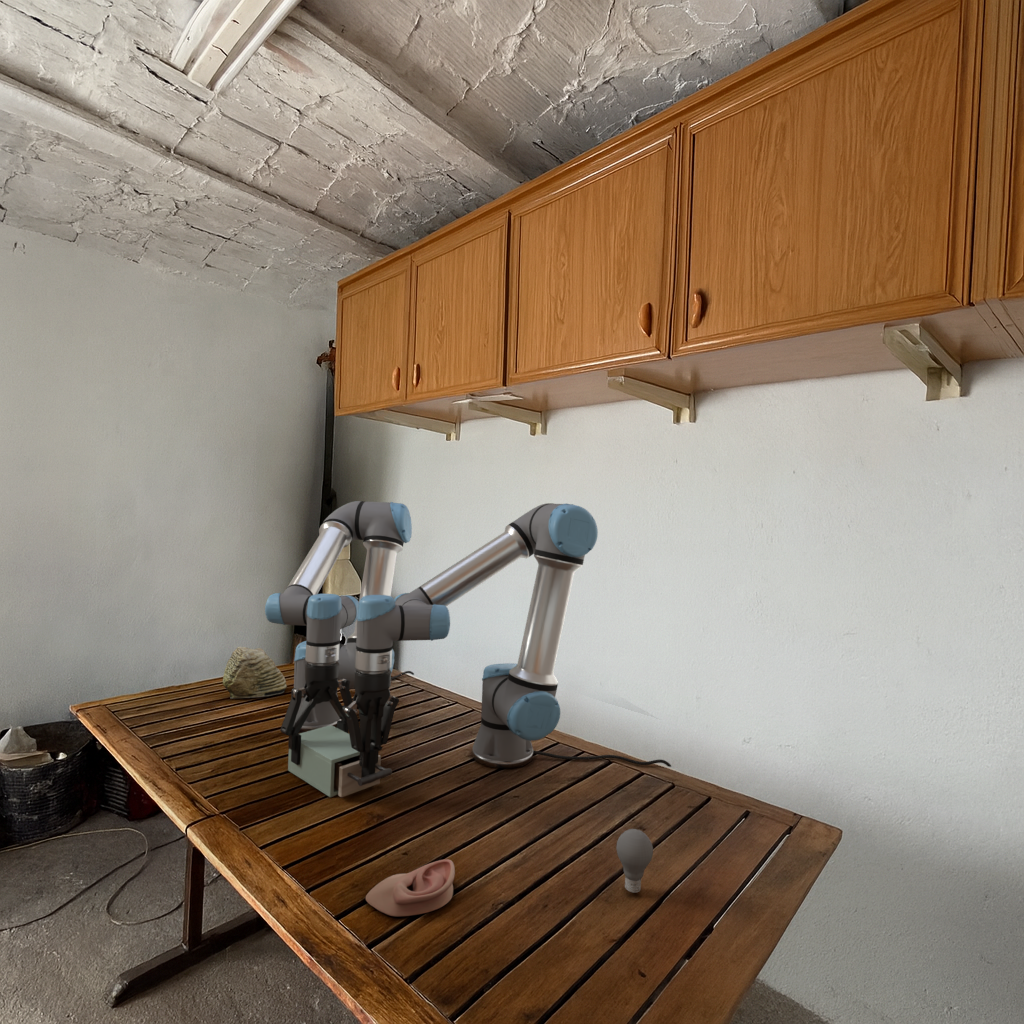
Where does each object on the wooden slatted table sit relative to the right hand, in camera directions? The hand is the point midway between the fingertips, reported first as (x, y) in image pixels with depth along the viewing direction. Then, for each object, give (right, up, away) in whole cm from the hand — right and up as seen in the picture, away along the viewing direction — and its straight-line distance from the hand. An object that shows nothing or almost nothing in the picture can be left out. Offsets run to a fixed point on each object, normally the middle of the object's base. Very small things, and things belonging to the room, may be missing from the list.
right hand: (367, 780), depth 134 cm
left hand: (-15, 0, +13) cm, 20 cm away
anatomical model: (+14, -5, -32) cm, 35 cm away
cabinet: (-11, -3, +10) cm, 15 cm away
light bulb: (+51, -7, -28) cm, 58 cm away
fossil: (-50, -1, +64) cm, 82 cm away
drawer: (-6, -3, +6) cm, 9 cm away
